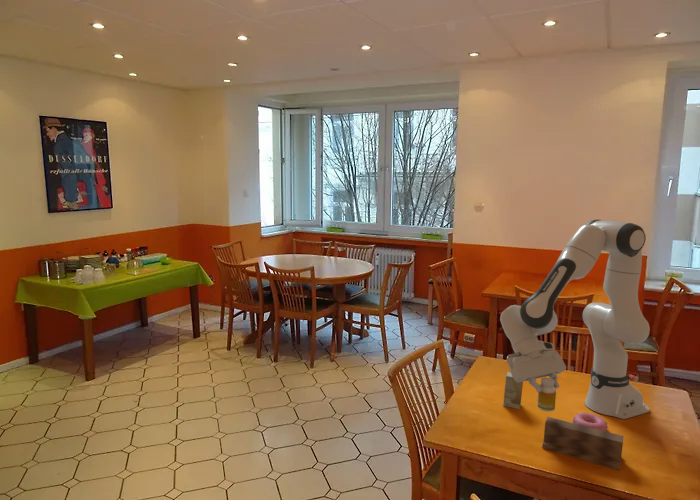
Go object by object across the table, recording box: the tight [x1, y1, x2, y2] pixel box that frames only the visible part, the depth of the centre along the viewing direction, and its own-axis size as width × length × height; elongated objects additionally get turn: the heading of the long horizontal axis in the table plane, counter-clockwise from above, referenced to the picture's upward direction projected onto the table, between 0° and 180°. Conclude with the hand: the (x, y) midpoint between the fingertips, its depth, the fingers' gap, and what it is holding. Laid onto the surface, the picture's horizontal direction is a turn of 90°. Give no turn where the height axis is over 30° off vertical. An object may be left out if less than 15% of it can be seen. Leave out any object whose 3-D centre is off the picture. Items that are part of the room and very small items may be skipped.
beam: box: [541, 416, 625, 471], centre depth 154 cm, size 22×8×8 cm, turn 59°
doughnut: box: [572, 412, 609, 432], centre depth 169 cm, size 11×11×4 cm
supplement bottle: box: [536, 377, 557, 412], centre depth 159 cm, size 5×5×10 cm
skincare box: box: [502, 371, 524, 410], centre depth 184 cm, size 6×4×12 cm
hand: (548, 389), depth 158 cm, fingers closed on supplement bottle, 5 cm apart
